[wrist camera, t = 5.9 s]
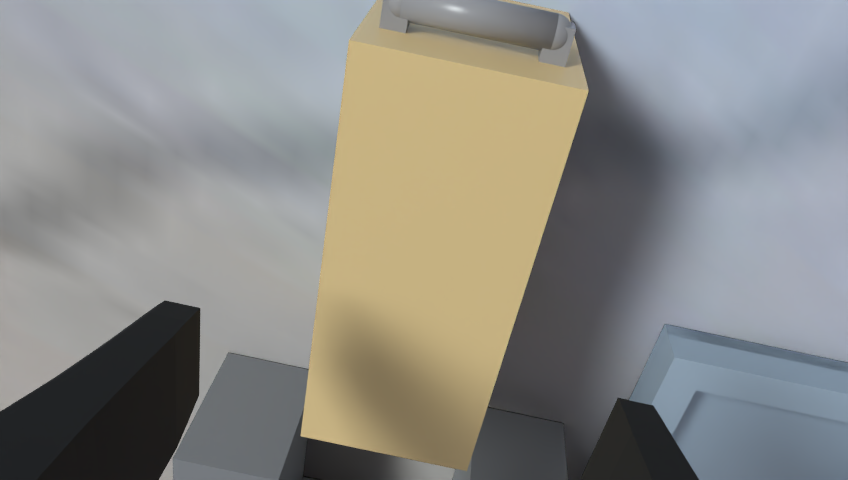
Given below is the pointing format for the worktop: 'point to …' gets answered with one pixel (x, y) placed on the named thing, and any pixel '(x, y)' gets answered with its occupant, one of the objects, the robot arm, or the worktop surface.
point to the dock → (285, 447)
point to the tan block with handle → (436, 217)
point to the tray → (748, 407)
